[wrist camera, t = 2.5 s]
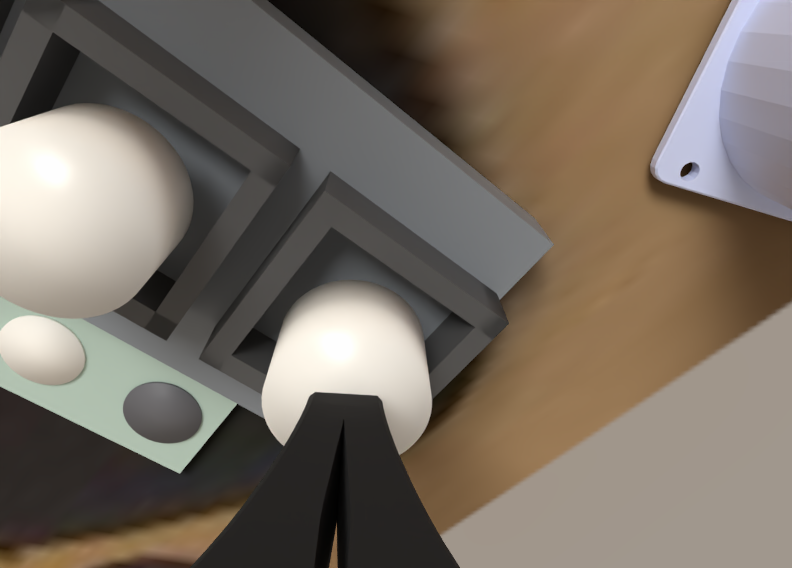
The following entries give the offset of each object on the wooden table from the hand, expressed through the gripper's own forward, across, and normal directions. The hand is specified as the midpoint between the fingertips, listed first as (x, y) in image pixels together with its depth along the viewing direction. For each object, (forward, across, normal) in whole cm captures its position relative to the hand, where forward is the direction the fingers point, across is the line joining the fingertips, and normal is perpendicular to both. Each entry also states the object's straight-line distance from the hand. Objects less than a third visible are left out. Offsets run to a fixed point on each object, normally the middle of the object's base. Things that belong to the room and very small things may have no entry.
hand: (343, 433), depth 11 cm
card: (+7, +10, +3) cm, 12 cm away
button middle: (+3, +5, -4) cm, 7 cm away
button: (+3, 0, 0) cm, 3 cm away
